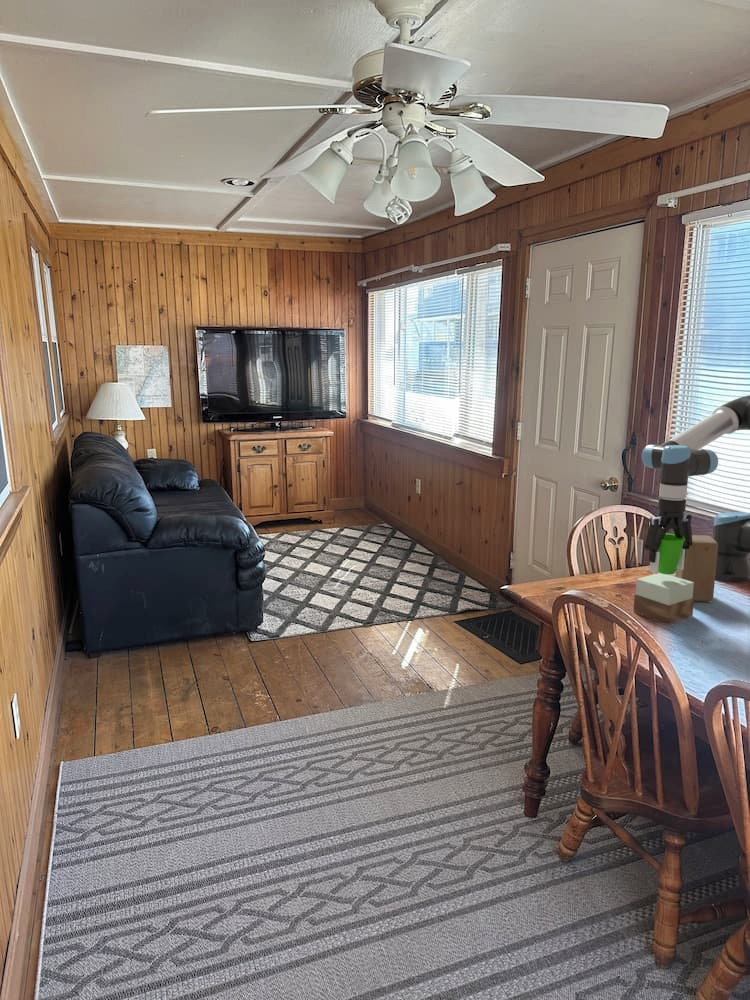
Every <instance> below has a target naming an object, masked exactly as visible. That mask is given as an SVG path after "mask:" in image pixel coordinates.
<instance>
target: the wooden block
mask: <svg viewBox="0 0 750 1000" xmlns="http://www.w3.org/2000/svg"><path fill="white" fill-rule="evenodd" d="M692 542H693V544H692V546H690V548H689V549H686V557H685V558H684V568H683V570H680V569H676V572H675V574H674V575H675V576H674V577H678V578H681V579H684V580H688V581H691V582H694V587H693V598H694V602H701V601H702V603H703V602H706V603H711V602H713V600H714V592H715V586H716V585H715V583H716V579H715V574H716V564H717V554H718V543H717V542H716V541H715V540H714V539H713V536H710V535H706V534H705V535H704V534H701V535H700V534H692Z"/></svg>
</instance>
